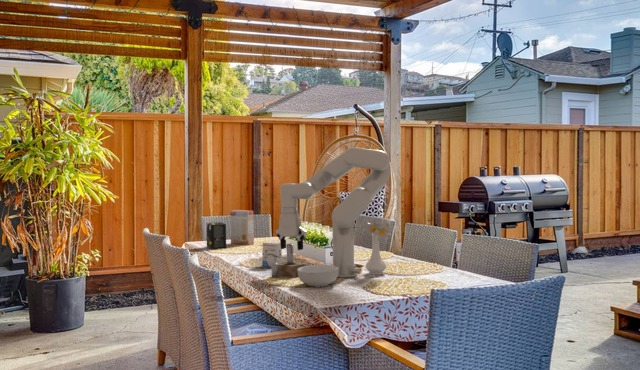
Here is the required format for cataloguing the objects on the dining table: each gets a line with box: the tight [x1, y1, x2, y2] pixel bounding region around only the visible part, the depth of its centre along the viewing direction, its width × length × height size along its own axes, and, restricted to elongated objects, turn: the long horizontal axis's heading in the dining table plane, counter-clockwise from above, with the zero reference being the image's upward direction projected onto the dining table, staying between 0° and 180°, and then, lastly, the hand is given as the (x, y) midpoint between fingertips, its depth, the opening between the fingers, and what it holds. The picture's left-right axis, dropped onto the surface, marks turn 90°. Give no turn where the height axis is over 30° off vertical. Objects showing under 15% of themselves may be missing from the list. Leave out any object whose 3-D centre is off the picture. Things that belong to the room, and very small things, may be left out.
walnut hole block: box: [278, 261, 305, 278], centre depth 266 cm, size 10×8×5 cm
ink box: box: [261, 240, 283, 268], centre depth 290 cm, size 9×5×12 cm, turn 62°
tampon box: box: [206, 221, 227, 250], centre depth 352 cm, size 11×9×15 cm
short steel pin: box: [270, 263, 279, 278], centre depth 262 cm, size 3×3×6 cm
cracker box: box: [229, 209, 255, 246], centre depth 367 cm, size 14×6×21 cm, turn 58°
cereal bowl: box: [297, 264, 339, 288], centre depth 244 cm, size 17×17×7 cm
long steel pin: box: [286, 243, 295, 265], centre depth 266 cm, size 3×3×14 cm
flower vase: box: [360, 217, 393, 276], centre depth 267 cm, size 13×18×25 cm
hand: (291, 249), depth 266 cm, fingers open, 9 cm apart
